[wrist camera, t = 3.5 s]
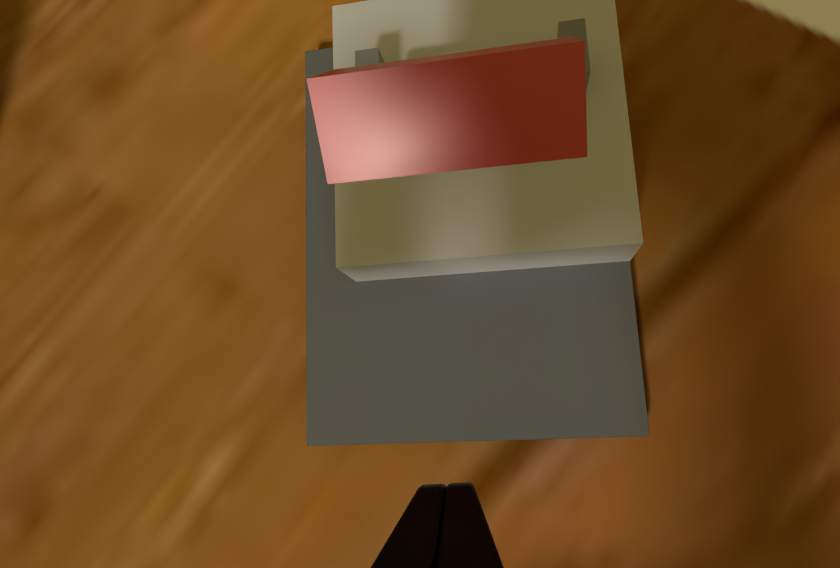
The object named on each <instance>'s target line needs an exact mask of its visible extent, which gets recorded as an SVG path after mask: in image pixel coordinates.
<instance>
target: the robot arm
mask: <svg viewBox="0 0 840 568" xmlns="http://www.w3.org/2000/svg"><path fill="white" fill-rule="evenodd" d="M371 568H503V565H502V562H501V559H500V557H499V554H498V551H497V548H496V545H495V543H494V540H493V537H492V534H491V532H490V529H489V526H488V523H487V521H486V518H485V515H484V512H483V510H482V507H481V504H480V501H479V499H478V496H477V493H476V490H475V488H474V485H473V484H472V483H469V482H467V483H451V484H449V485H448V486H447V487H446V485H444V484H430V485H422V486H421V487H419V488H418V490H417V491H416V493H415V495H414V496H413V498H412V500H411V501H410V503H409V505H408V506H407V508H406V510H405V511H404V513H403V515H402V516H401V518H400V520H399V521H398V523H397V525H396V527H395V528H394V530H393V532H392V533H391V535H390V537H389V538H388V540H387V542H386V543H385V545H384V547H383V548H382V550H381V552H380V553H379V555H378V557H377V558H376V560H375V562H374V563H373V565H372V567H371Z"/></svg>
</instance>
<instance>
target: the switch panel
mask: <svg viewBox="0 0 840 568" xmlns="http://www.w3.org/2000/svg"><path fill="white" fill-rule="evenodd" d="M332 12H333V47H332V48H325V49H318V50H312V51H306V338H307V446H320V445H355V444H389V443H423V442H457V441H491V440H525V439H559V438H594V437H628V436H650V435H649V426H648V417H647V408H646V399H645V390H644V382H643V373H642V364H641V355H640V346H639V337H638V328H637V319H636V310H635V301H634V292H633V283H632V274H631V265H630V260H631V259H632V258H633V256H634V255H635V254H636V252H637V251H638V250H639V248H640V247H641V246H642V244H643V235H642V227H641V218H640V210H639V201H638V193H637V184H636V176H635V167H634V158H633V150H632V141H631V133H630V124H629V116H628V107H627V99H626V90H625V82H624V73H623V64H622V56H621V47H620V39H619V30H618V22H617V13H616V5H615V0H369V1H362V2H356V3H350V4H343V5H337V6H332ZM566 37H574V38H578V39H581V40H584V41H585V66H586V112H587V157H582V158H573V159H563V160H554V161H544V162H535V163H525V164H516V165H506V166H496V167H487V168H477V169H468V170H458V171H449V172H439V173H430V174H420V175H411V176H401V177H392V178H382V179H372V180H363V181H353V182H344V183H334V184H328V183H327V178H326V173H325V168H324V163H323V158H322V153H321V148H320V143H319V138H318V133H317V128H316V123H315V118H314V113H313V108H312V103H311V98H310V93H309V88H308V83H307V78H310V77H313V76H316V75H319V74H322V73H325V72H328V71H331V70H334V69H341V68H349V67H356V66H363V65H370V64H378V63H385V62H392V61H399V60H407V59H414V58H421V57H428V56H436V55H443V54H446V53H453V52H461V51H468V50H475V49H482V48H494V47H501V46H508V45H515V44H523V43H530V42H537V41H544V40H552V39H559V38H566Z"/></svg>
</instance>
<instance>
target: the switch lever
mask: <svg viewBox="0 0 840 568" xmlns="http://www.w3.org/2000/svg"><path fill="white" fill-rule="evenodd" d="M307 83H308V88H309V93H310V98H311V103H312V108H313V113H314V118H315V123H316V128H317V133H318V138H319V143H320V148H321V153H322V158H323V163H324V168H325V173H326V178H327V183H328V184H334V183H344V182H353V181H363V180H372V179H382V178H392V177H401V176H411V175H420V174H430V173H439V172H449V171H458V170H468V169H477V168H487V167H496V166H506V165H516V164H525V163H535V162H544V161H554V160H563V159H573V158H582V157H587V112H586V66H585V41H584V40H581V39H578V38H574V37H566V38H559V39H552V40H544V41H537V42H530V43H523V44H515V45H508V46H501V47H494V48H482V49H475V50H468V51H461V52H453V53H446V54H443V55H436V56H428V57H421V58H414V59H407V60H399V61H392V62H385V63H378V64H370V65H363V66H356V67H349V68H341V69H334V70H331V71H328V72H325V73H322V74H319V75H316V76H313V77H310V78H307Z"/></svg>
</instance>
